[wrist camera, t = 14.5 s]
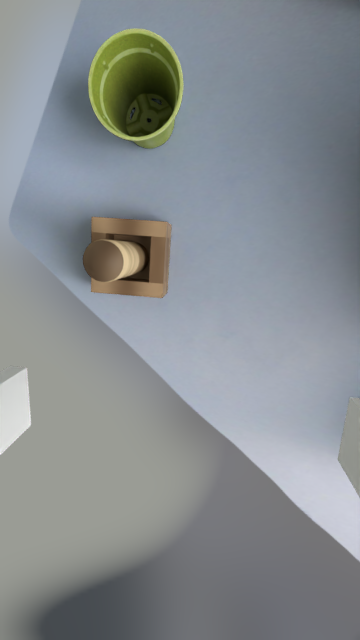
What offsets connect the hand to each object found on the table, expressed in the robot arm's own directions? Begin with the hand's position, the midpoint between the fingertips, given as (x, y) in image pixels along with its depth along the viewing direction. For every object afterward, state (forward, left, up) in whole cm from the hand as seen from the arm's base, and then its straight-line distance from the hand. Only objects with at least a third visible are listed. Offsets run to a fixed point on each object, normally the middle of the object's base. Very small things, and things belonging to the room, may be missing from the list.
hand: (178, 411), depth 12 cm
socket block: (+9, -5, -31) cm, 32 cm away
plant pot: (+8, -21, -31) cm, 38 cm away
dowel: (+9, -5, -29) cm, 31 cm away
